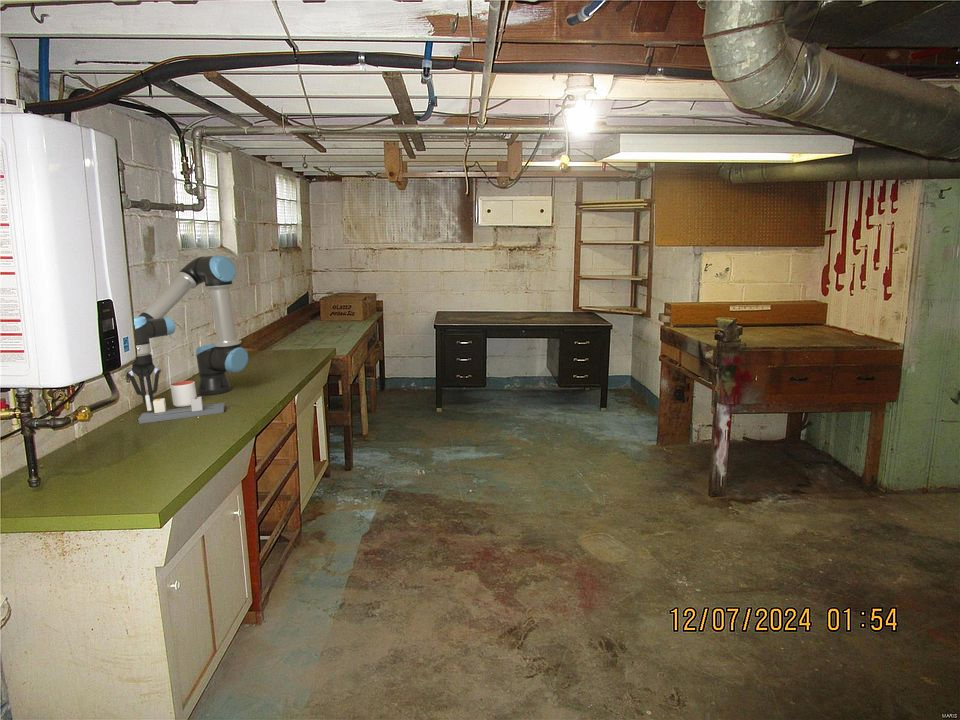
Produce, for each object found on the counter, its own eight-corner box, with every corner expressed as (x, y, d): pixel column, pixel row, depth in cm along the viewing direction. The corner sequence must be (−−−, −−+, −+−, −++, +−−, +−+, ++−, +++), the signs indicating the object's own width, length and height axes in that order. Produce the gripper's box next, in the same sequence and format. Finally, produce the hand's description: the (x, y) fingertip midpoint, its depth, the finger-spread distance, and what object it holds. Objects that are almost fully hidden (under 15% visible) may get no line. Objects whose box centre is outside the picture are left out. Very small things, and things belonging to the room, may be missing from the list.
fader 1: (156, 410, 269) (154, 398, 268) (166, 409, 270) (164, 397, 269) (154, 413, 265) (152, 401, 264) (165, 411, 266) (163, 399, 265)
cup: (176, 409, 279) (172, 386, 277) (171, 405, 287) (168, 383, 285) (200, 404, 285) (197, 382, 283) (194, 400, 293) (191, 379, 291)
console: (143, 417, 267) (142, 413, 267) (224, 407, 277) (224, 402, 277) (139, 423, 258) (138, 418, 258) (223, 412, 268) (223, 407, 268)
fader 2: (192, 409, 268) (191, 397, 267) (203, 408, 269) (201, 396, 268) (192, 411, 264) (190, 399, 263) (202, 410, 265) (200, 398, 264)
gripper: (121, 357, 256) (130, 414, 260) (157, 354, 260) (165, 410, 264) (125, 354, 263) (134, 410, 267) (159, 351, 267) (168, 405, 271)
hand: (149, 410), depth 266 cm, fingers closed
